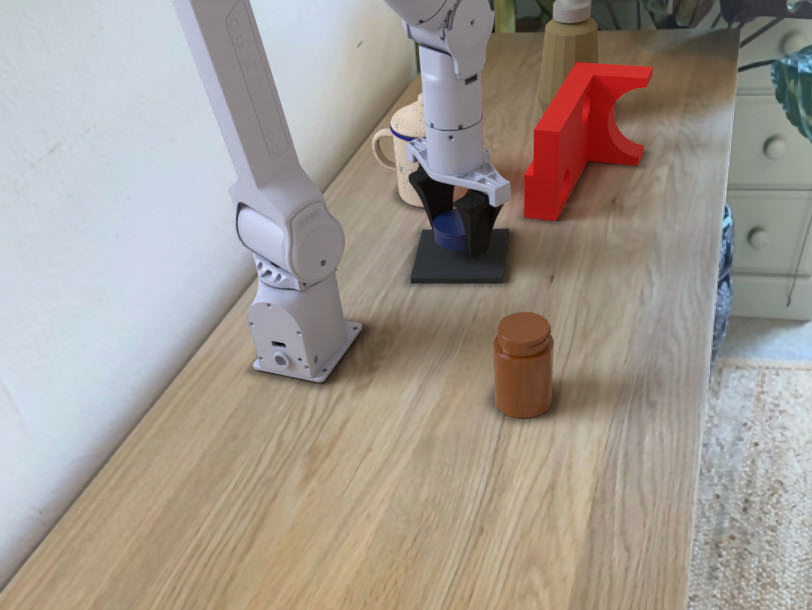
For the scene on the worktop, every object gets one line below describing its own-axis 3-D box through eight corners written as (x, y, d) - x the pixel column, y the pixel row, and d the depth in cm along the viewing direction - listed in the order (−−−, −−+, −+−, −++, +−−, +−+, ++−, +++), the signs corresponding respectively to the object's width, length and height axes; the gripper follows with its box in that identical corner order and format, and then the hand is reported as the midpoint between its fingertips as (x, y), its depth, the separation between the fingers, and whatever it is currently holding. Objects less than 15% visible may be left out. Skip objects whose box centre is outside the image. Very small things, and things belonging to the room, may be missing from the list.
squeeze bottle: (525, 118, 117) (526, -33, 103) (576, 102, 119) (584, -48, 105) (556, 140, 112) (562, -16, 98) (609, 123, 113) (622, -32, 100)
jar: (545, 422, 76) (548, 348, 70) (489, 414, 78) (486, 342, 72) (556, 384, 80) (559, 311, 74) (501, 378, 81) (500, 306, 75)
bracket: (568, 61, 103) (653, 66, 100) (564, 146, 110) (643, 153, 107) (524, 129, 92) (618, 136, 89) (524, 217, 100) (610, 227, 97)
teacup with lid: (479, 176, 107) (476, 79, 98) (458, 213, 102) (452, 113, 93) (390, 169, 111) (379, 74, 102) (364, 204, 105) (351, 107, 96)
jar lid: (482, 219, 96) (482, 204, 94) (492, 246, 92) (491, 230, 90) (431, 227, 95) (430, 212, 94) (438, 254, 92) (437, 238, 90)
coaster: (502, 282, 91) (502, 278, 91) (410, 283, 93) (410, 278, 92) (508, 233, 98) (508, 228, 97) (422, 234, 99) (422, 229, 99)
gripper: (534, 126, 81) (532, 253, 91) (439, 84, 89) (447, 206, 100) (477, 152, 79) (481, 280, 89) (385, 107, 87) (399, 229, 97)
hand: (460, 243), depth 94 cm, fingers closed on jar lid, 6 cm apart
